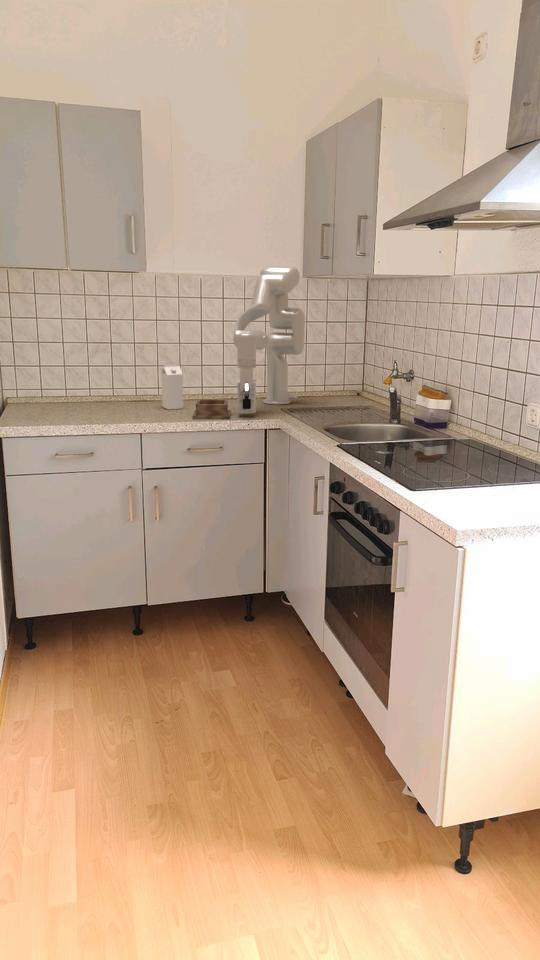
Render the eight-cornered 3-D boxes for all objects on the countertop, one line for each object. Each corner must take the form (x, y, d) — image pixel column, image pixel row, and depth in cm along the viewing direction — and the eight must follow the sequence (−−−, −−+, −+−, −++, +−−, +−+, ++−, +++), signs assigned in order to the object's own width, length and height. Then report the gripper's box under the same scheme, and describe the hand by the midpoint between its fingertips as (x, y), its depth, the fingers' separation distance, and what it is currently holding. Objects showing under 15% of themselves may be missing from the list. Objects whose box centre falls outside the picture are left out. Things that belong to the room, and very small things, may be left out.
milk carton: (162, 407, 307) (160, 363, 302) (177, 406, 310) (176, 362, 305) (167, 409, 301) (166, 365, 296) (183, 408, 304) (182, 364, 299)
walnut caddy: (230, 412, 297) (230, 399, 295) (230, 419, 282) (229, 405, 281) (195, 412, 296) (194, 399, 295) (192, 419, 282) (192, 405, 280)
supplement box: (238, 409, 293) (238, 379, 290) (256, 409, 293) (256, 379, 289) (237, 413, 286) (236, 382, 282) (255, 413, 286) (255, 382, 282)
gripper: (237, 361, 292) (237, 403, 297) (236, 366, 276) (237, 411, 281) (255, 361, 292) (255, 403, 297) (256, 366, 276) (256, 411, 281)
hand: (246, 406), depth 289 cm, fingers closed on supplement box, 7 cm apart
